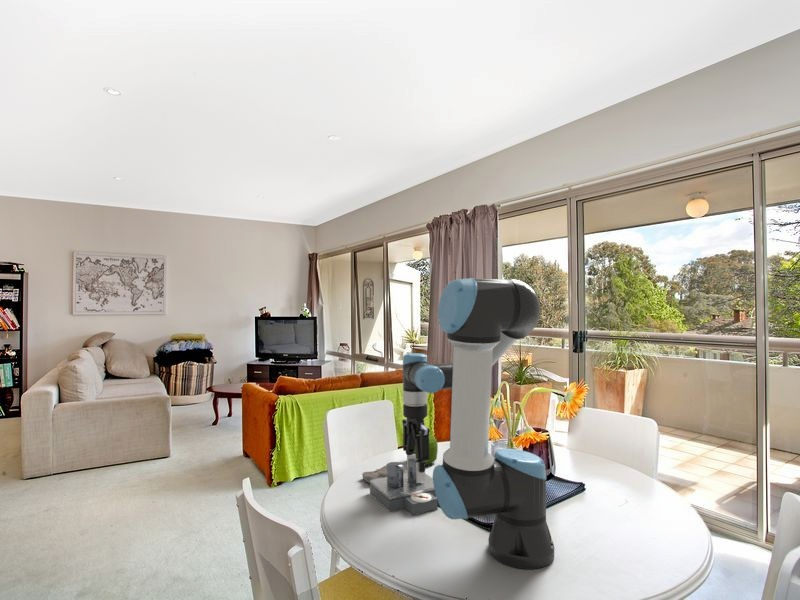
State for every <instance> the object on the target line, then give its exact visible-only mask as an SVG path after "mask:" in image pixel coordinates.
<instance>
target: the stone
mask: <svg viewBox="0 0 800 600" xmlns="http://www.w3.org/2000/svg"><path fill="white" fill-rule="evenodd" d="M404 473H407V469H406V467H405V466H404V464H403V474H404ZM384 477H387V464H385V465H383V466H382V467H380V468H377V469H376V470H372V471H364V472H362V479H363V481H365V482H367V483H369V485H370V484H371V483H370V480H373V479H379V478H384Z"/></svg>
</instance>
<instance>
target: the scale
mask: <svg viewBox="0 0 800 600" xmlns="http://www.w3.org/2000/svg"><path fill="white" fill-rule="evenodd" d="M369 494H370V495H371V496H372V497H373V499H375V500H376V501H377V502H378V503H379V504H380V505H381V506H383V507H384V508H385V509H386V510H387V512H394V511H398V510H404V509H405V510H406V511H408V512H409V513H410V514H411V515H412V516H415V515H420V514H424V513H427V512H432V511H435V510H438V507H439V503H438V500H437V498H436V493H435V490H432V491H427V492H423V493H419V494H414V495H410V496H405V497H401V498H396V499H392V500H389V499H387V498H386V497H385V496H384V495H383V494H382V493H381V492H380V491H378V490H377V489H376V488H375V487H374V486H373V485H372V484H369Z"/></svg>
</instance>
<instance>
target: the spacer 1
mask: <svg viewBox="0 0 800 600" xmlns="http://www.w3.org/2000/svg"><path fill="white" fill-rule="evenodd" d="M386 465H387V486H389V487H393V488H397V487H401V486H403V485H404V482H403V465H404V463H403V462H399V461H391V462H387V463H386Z"/></svg>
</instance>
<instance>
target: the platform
mask: <svg viewBox="0 0 800 600" xmlns="http://www.w3.org/2000/svg"><path fill="white" fill-rule="evenodd" d="M403 482H404V485H403V486H401V487H397V488H393V487H389V486H387V477H384V478H379V479H373V480H370V483H371V484H372V485H373V486H374V487H375V488H376V489H377V490H378V491H380V492H381V493H382V494H383V495H384V496H385V497H386V498H387V499H389V500H392V499H396V498H401V497H405V496H410V495H414V494H419V493H423V492H427V491H432V490H435V489H434V484H433V477H431V476H430V475H428V474H427V473H425V482H423V483H420V484H412V483H409V482H408V476H407V472H406V473H404V474H403Z"/></svg>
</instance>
